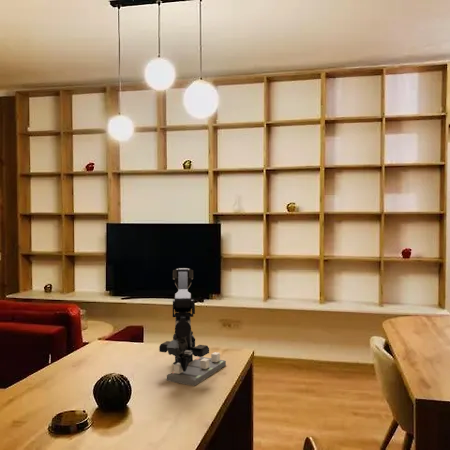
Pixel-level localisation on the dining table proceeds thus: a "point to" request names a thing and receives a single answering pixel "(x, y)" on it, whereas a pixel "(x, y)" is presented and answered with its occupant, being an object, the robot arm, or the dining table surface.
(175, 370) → the switch
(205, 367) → the middle switch
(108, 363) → the dining table surface
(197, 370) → the breaker panel
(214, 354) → the far switch
